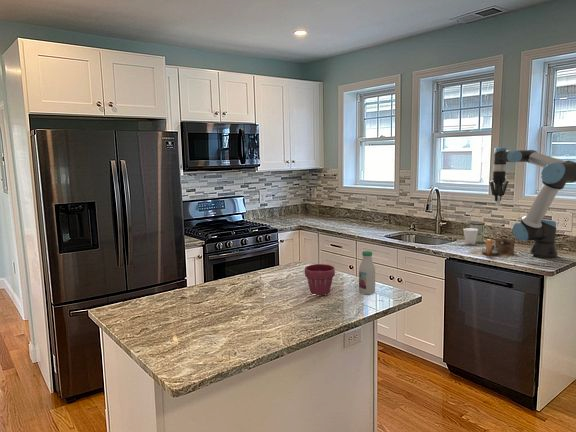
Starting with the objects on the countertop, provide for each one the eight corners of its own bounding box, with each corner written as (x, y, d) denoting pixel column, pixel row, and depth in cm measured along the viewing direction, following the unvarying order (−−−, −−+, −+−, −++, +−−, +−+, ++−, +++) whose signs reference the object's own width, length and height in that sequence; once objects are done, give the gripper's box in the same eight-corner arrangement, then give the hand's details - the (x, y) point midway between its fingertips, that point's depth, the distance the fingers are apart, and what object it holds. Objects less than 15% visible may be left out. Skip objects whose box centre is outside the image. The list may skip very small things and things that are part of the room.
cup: (461, 245, 315) (462, 230, 313) (463, 242, 324) (464, 227, 322) (476, 246, 310) (477, 230, 309) (478, 243, 319) (478, 228, 317)
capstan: (493, 251, 288) (493, 236, 287) (503, 255, 277) (504, 239, 275) (477, 252, 287) (478, 237, 286) (487, 256, 276) (488, 240, 274)
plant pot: (299, 295, 210) (299, 268, 208) (314, 287, 222) (314, 262, 220) (325, 300, 202) (325, 273, 200) (339, 291, 214) (339, 266, 212)
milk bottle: (373, 289, 216) (373, 249, 213) (376, 294, 208) (377, 253, 206) (357, 290, 216) (357, 250, 213) (360, 295, 208) (360, 253, 205)
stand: (513, 255, 283) (514, 239, 281) (506, 260, 270) (507, 243, 268) (475, 250, 298) (475, 235, 297) (466, 254, 285) (467, 239, 284)
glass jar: (467, 240, 333) (467, 221, 331) (481, 240, 332) (482, 221, 330) (471, 242, 323) (472, 223, 321) (486, 242, 322) (486, 223, 320)
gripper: (505, 170, 300) (503, 204, 303) (487, 170, 299) (485, 205, 302) (511, 170, 293) (510, 206, 296) (493, 171, 292) (491, 206, 295)
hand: (497, 205), depth 299 cm, fingers closed
